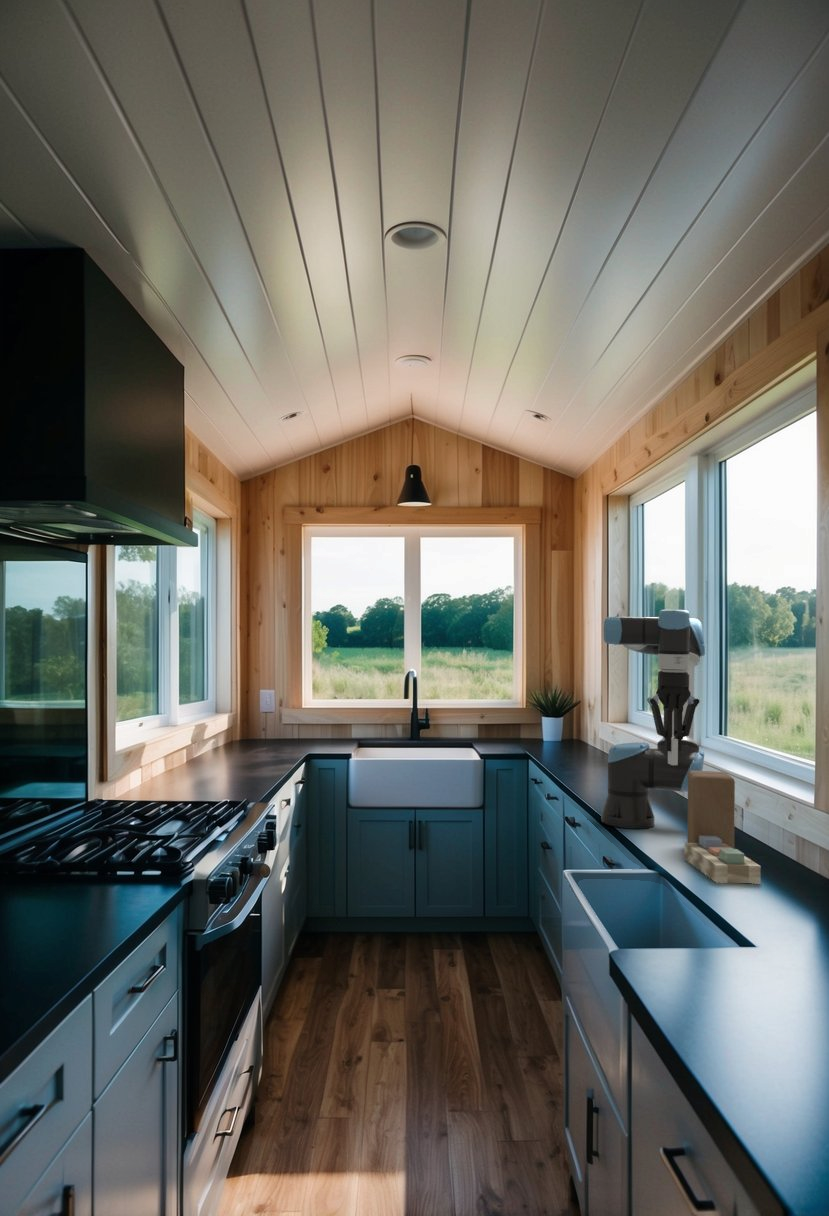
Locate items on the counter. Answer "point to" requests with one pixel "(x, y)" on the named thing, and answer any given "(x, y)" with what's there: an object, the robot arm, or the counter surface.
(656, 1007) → the counter surface
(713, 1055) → the counter surface
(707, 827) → the block
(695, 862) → the wooden slotted tray
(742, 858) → the green button
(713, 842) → the grey small cube
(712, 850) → the terracotta button
